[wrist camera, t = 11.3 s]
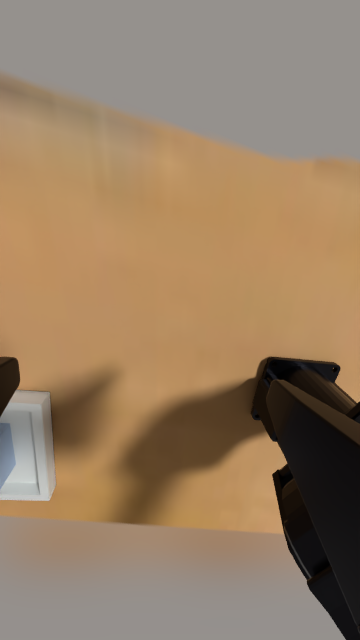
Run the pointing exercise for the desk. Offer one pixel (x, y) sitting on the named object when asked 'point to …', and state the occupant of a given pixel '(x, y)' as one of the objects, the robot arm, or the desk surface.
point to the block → (6, 452)
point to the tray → (30, 447)
